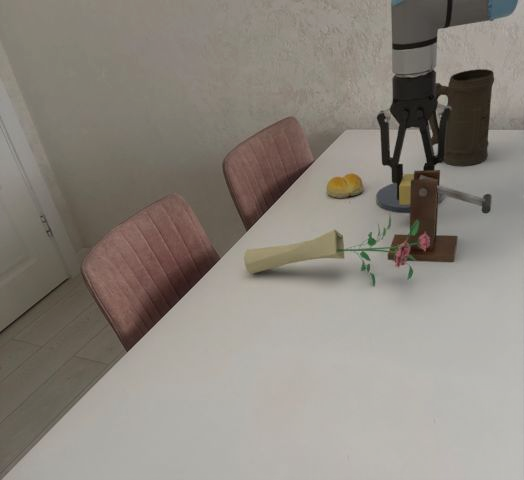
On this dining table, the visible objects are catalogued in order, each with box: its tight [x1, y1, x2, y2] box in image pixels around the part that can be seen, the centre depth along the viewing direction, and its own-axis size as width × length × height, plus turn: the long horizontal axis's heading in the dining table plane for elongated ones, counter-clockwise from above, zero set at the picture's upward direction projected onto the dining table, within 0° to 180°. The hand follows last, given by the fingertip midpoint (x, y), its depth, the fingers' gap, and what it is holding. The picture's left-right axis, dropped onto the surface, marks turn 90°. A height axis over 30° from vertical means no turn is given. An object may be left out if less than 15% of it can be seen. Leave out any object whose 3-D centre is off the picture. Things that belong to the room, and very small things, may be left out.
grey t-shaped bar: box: [419, 175, 493, 215], centre depth 88 cm, size 13×5×2 cm, turn 69°
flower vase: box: [243, 215, 430, 287], centre depth 92 cm, size 12×12×35 cm
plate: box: [375, 183, 445, 213], centre depth 115 cm, size 15×15×1 cm
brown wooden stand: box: [387, 169, 459, 263], centre depth 92 cm, size 12×8×15 cm, turn 69°
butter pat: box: [399, 173, 414, 205], centre depth 102 cm, size 6×4×4 cm
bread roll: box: [325, 173, 364, 199], centre depth 123 cm, size 8×9×4 cm
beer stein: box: [428, 68, 495, 167], centre depth 123 cm, size 15×11×20 cm
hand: (412, 196), depth 103 cm, fingers closed on butter pat, 4 cm apart
